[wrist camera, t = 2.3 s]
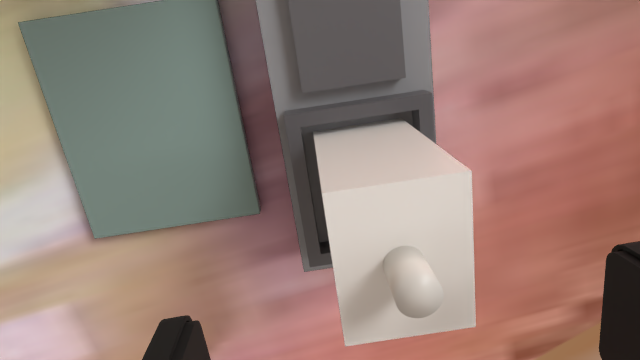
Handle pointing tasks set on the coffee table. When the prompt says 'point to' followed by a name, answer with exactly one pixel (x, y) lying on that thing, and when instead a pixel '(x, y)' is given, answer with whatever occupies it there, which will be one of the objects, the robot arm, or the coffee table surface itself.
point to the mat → (146, 114)
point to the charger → (397, 231)
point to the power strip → (341, 86)
